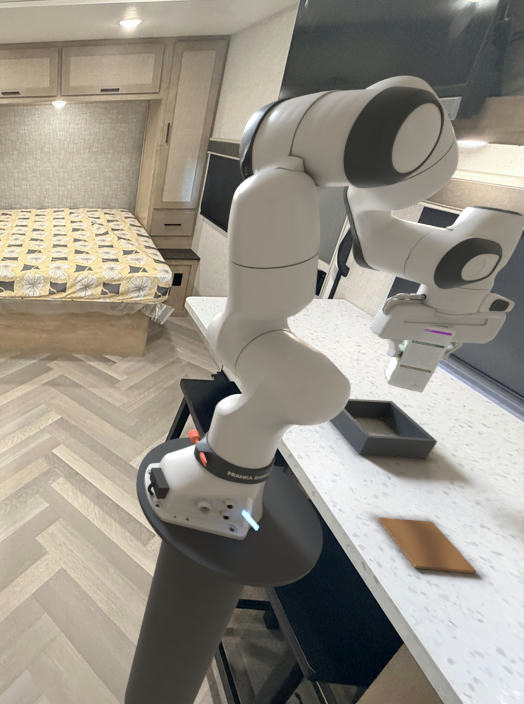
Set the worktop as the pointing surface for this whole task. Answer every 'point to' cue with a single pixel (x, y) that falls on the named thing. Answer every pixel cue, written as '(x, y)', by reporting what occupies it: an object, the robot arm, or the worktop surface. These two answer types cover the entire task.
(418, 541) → the mat
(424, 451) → the bin
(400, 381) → the syrup box
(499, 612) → the worktop surface
